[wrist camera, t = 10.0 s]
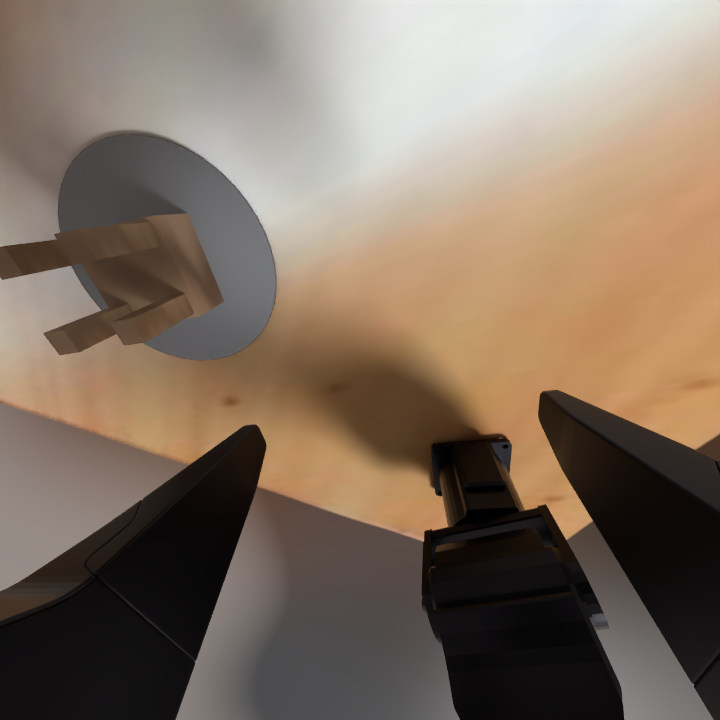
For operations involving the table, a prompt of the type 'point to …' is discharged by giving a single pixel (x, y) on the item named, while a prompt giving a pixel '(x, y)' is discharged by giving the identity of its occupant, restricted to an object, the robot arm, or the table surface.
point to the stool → (126, 277)
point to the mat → (209, 218)
